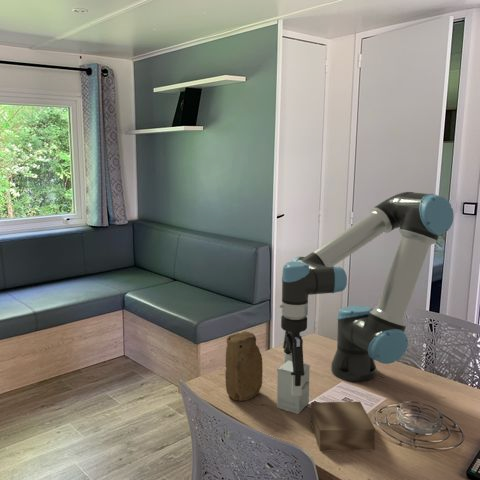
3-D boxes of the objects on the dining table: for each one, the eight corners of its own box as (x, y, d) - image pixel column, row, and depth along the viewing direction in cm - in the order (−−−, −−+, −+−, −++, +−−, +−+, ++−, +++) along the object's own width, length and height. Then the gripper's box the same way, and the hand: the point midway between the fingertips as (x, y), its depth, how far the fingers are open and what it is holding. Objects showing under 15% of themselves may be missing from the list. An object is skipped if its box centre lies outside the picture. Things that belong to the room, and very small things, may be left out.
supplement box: (299, 414, 141) (299, 374, 139) (276, 408, 145) (276, 368, 143) (309, 403, 147) (310, 364, 145) (287, 397, 151) (288, 359, 149)
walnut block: (359, 421, 138) (360, 401, 137) (374, 450, 125) (375, 429, 124) (310, 422, 138) (310, 402, 137) (319, 451, 124) (320, 430, 123)
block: (235, 404, 147) (235, 341, 144) (223, 394, 154) (222, 334, 150) (265, 395, 153) (265, 334, 149) (252, 385, 159) (252, 327, 155)
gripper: (275, 302, 153) (273, 366, 157) (288, 330, 129) (286, 405, 132) (298, 302, 154) (296, 366, 157) (316, 330, 129) (314, 404, 133)
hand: (292, 384), depth 145 cm, fingers open, 13 cm apart
